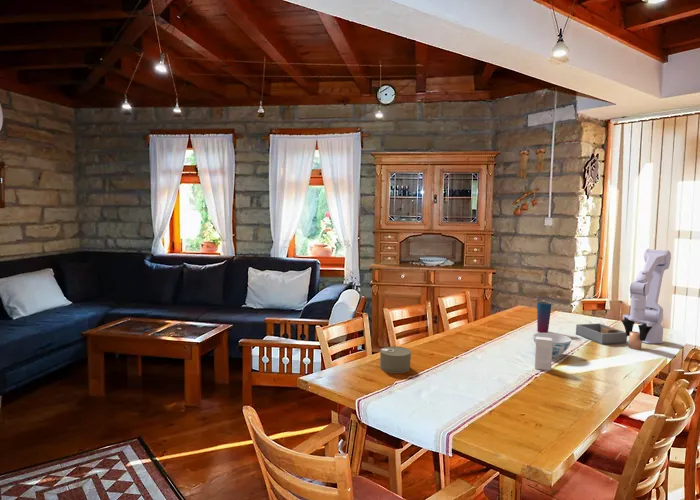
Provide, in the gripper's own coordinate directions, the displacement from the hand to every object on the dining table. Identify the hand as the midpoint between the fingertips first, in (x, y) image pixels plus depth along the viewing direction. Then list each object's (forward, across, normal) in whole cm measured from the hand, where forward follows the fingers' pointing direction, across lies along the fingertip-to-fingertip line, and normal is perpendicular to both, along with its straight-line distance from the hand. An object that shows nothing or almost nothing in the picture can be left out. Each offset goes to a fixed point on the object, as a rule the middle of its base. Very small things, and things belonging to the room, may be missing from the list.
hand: (635, 338), depth 216 cm
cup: (+5, -32, -25) cm, 41 cm away
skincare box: (+5, +16, -59) cm, 61 cm away
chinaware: (+5, +2, -45) cm, 45 cm away
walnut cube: (+4, -13, -2) cm, 14 cm away
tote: (+5, -16, -4) cm, 17 cm away
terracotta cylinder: (+5, 0, 0) cm, 5 cm away
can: (+6, +5, -116) cm, 116 cm away
